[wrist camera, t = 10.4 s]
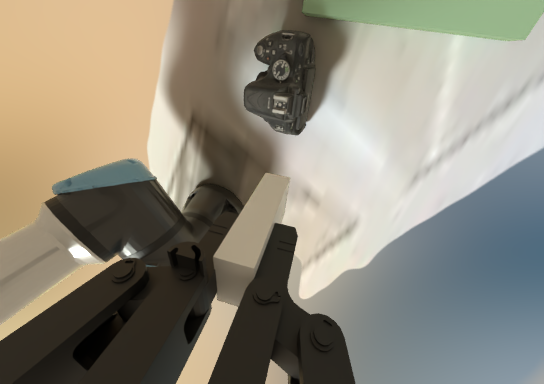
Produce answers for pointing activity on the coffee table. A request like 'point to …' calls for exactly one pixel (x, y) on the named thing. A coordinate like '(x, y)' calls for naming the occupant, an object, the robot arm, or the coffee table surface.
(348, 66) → the coffee table surface
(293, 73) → the camera
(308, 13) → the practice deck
